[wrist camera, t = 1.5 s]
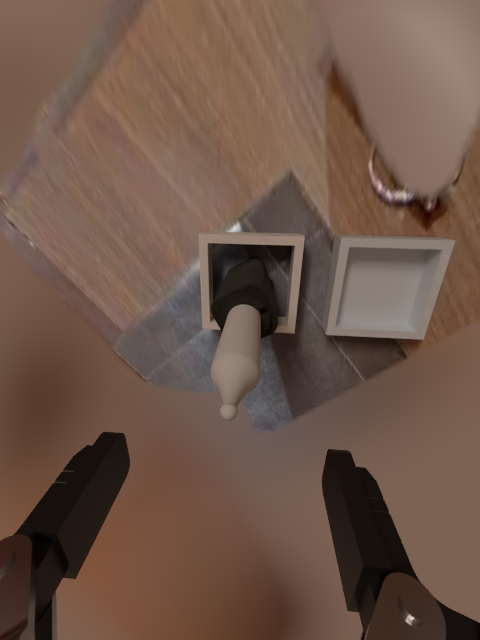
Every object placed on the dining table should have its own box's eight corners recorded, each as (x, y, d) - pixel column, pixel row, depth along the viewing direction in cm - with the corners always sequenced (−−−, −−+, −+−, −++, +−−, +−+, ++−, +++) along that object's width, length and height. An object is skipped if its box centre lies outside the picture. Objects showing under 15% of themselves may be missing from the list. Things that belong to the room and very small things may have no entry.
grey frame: (203, 231, 34) (198, 233, 31) (301, 233, 33) (304, 236, 30) (206, 320, 38) (202, 328, 36) (292, 323, 38) (294, 333, 35)
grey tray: (334, 234, 33) (341, 237, 30) (438, 237, 32) (455, 240, 29) (321, 325, 37) (326, 334, 35) (411, 329, 36) (423, 339, 34)
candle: (276, 288, 36) (299, 439, 13) (242, 304, 37) (208, 467, 14) (259, 253, 34) (252, 355, 11) (224, 271, 35) (153, 394, 12)
